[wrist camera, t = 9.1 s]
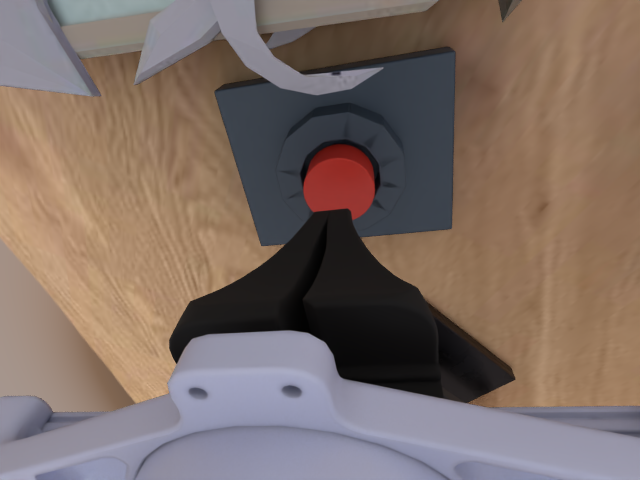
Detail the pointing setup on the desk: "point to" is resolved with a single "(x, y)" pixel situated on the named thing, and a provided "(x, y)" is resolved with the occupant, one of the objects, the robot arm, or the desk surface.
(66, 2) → the ornate book
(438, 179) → the switch box
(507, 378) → the monitor stand
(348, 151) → the power button
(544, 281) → the desk surface
